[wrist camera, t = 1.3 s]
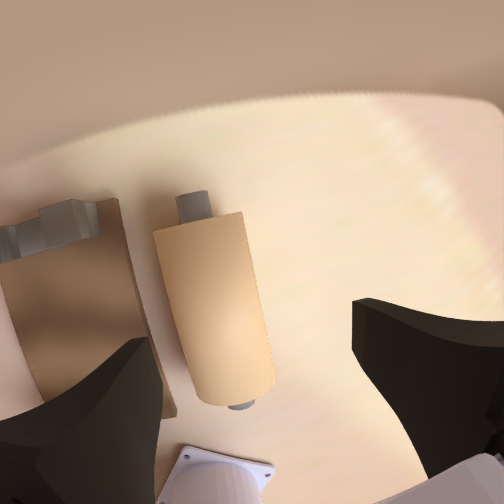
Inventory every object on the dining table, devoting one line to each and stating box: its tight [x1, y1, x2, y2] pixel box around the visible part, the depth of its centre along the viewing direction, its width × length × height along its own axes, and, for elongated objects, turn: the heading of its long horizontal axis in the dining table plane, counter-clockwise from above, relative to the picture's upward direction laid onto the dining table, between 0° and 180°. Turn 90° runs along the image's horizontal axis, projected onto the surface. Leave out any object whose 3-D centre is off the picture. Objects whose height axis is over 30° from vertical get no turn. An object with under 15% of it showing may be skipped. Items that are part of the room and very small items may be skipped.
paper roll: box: [152, 191, 276, 410], centre depth 18 cm, size 13×5×5 cm, turn 12°
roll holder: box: [0, 198, 177, 419], centre depth 17 cm, size 15×10×5 cm, turn 12°
